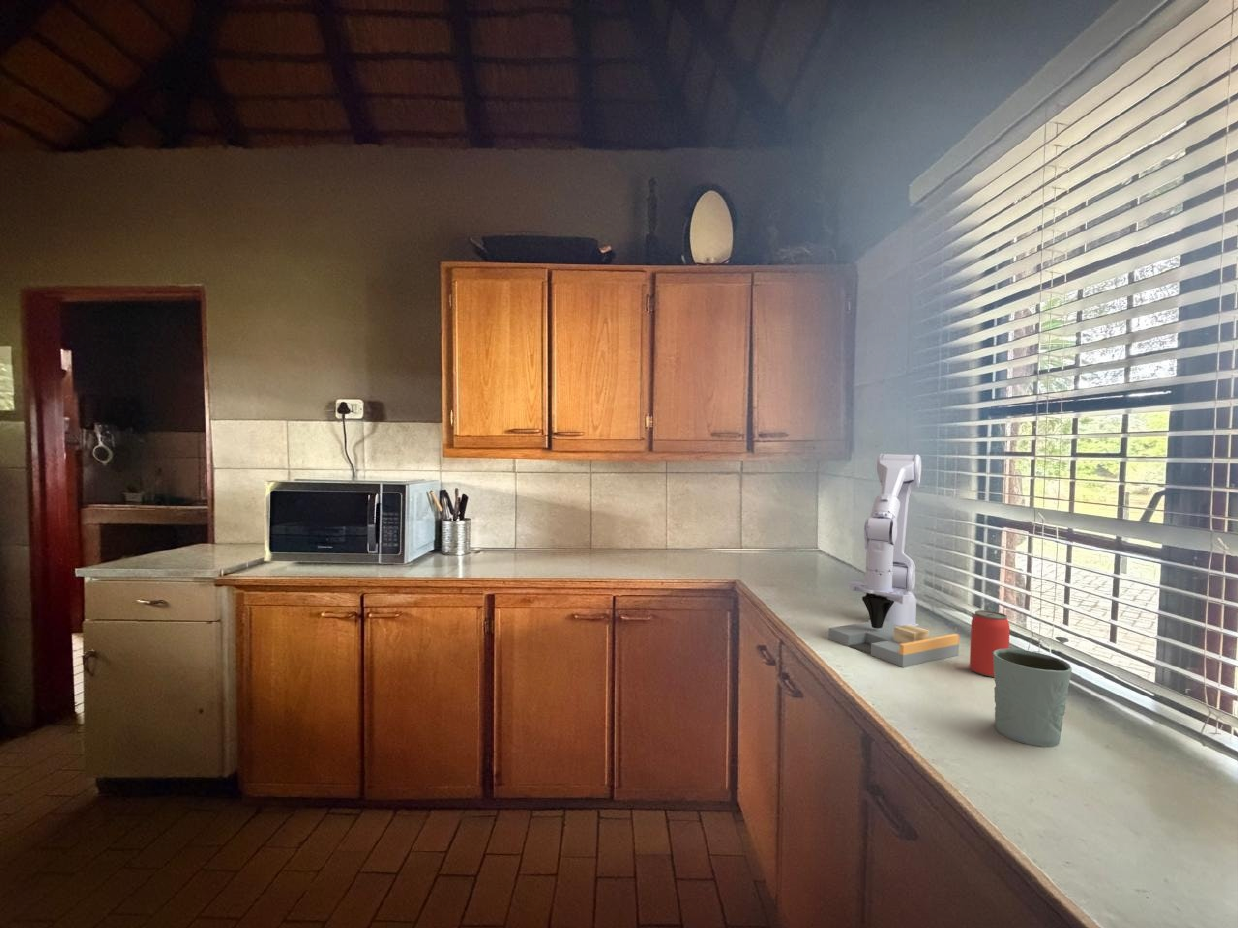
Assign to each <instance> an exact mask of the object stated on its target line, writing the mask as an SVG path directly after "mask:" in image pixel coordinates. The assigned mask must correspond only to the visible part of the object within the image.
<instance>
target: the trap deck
mask: <svg viewBox="0 0 1238 928" xmlns="http://www.w3.org/2000/svg"><path fill="white" fill-rule="evenodd" d="M897 626H900V625H897V624H893V623H890V622H887V621H884V623H883V627H882V628H878V629H876V628H873V627H872V625H871V622H868V621H865V622H858V623H853V624H848V625H840V626H834V627H828V639H829V640H831V641H834V642H837V643H838V644H842V645H844V646H846V647H850V648H852V649H855V650H857V651H860V652H863V653H864V654H867V655H870V656H873V657H874V658H878V659H880V658H881V660H883V661H886V662H887V663H891V664H893V665H897V666H898V667H901V668H906V667H911V666H915V665H920V664H921V665H922V664H924V663H925V664H926V663H930V662H935V661H938V660H942V659H943V660H944V659H949V658H953V657H958V656H959V651H960V650H959V649H960V648H959V647H960V644H959V643H960V634H958V633H952V634H947V635H946V634H945V635H940V636H936V637H929V639H924V640H919V641H914V642H908V643H903V644H902V643H900V642H897V641H894V627H897Z"/></svg>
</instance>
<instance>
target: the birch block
mask: <svg viewBox="0 0 1238 928" xmlns="http://www.w3.org/2000/svg"><path fill="white" fill-rule="evenodd" d="M924 639H930V630H928V629H925V628H921V627H919V626H912V625H903V626H897V627H894V641H897V642H900V643H902V644H903V643H908V642H914V641H919V640H924Z"/></svg>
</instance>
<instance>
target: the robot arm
mask: <svg viewBox="0 0 1238 928" xmlns="http://www.w3.org/2000/svg"><path fill="white" fill-rule="evenodd" d="M876 460H877V462H876V472H877V476H878V479H879V483H880V485H881V494H879V495H877V496H876V497H875V498H874V501H873V506H872V510H871V513H870V516H869V518H868V519H866V520H865V521H864V527H863V537H864V549H866V551H865V552H866V558H865V581H864V582H860V581H850V589H849V590H850V591H853V592H855V591H856V592H859V593H863V594H865V596H862V597H861V600H862V602H863V604H864V605H865V608H866V611H867V612H868V616H869V619H868V621H867V622H871V625H872V627H873V628H876V629H878V628H882V627H883V623H884V621H887V622H890V623H893V624H897V625H900V626H903V625H912V626H916V627H919V624H918V623H916V619H917V617H916V616H917V615H916V614H917V613H916V612H917V600H916V599H917V598H916V596H915V594H914V593H913V590H914V589H915V585H916V565H915V561H914V560H913V559H912V558H911V557H909V556H908V554H906V553H905V546H906V538H907V537H906V536H907V535H906V534H907V525H908V524H907V523H908V512H909V502H910V501H909V500H910V496H911V494H912V491H914V490H917V489H919V487H920V484H921V474H922V457H921V456H920V455H919V454H918V453H917V454H895V453H894V454H891V453H890V454H888V453H887V454H886V453H880V454H879V455H878V457H877V459H876Z"/></svg>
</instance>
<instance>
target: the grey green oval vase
mask: <svg viewBox="0 0 1238 928" xmlns="http://www.w3.org/2000/svg"><path fill="white" fill-rule="evenodd" d="M993 661H994V677H993V678H994V683H995V687H994V688H993V689H994V703H995V707H994V711H995V712H994V726H995V729H996V730H997V732H999V734H1002V735H1003V736H1004V737H1006V738H1008V739H1011V740H1013V741H1016V742H1019V743H1021V744H1025V745H1028V746H1035V747H1043V748H1053V747H1055V746H1058V745H1059V744H1060V742H1061V740H1062V739H1061V738H1062V731H1063V717H1064V715H1065V713H1066V712H1065V710H1066V702H1067V696H1068V693H1069V689H1068V688H1069V685H1070V680H1071V675H1072V669H1073V668H1072V666H1071V664H1070V663H1068V662H1066V661H1065V660H1062V659H1061V658H1060V659H1059V658H1057V657H1054V656H1051V655H1048V654H1045V653H1040V652H1035V651H1030V650H1025V649H1018V648H1009V649H998V650H995V651H994V652H993Z"/></svg>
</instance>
